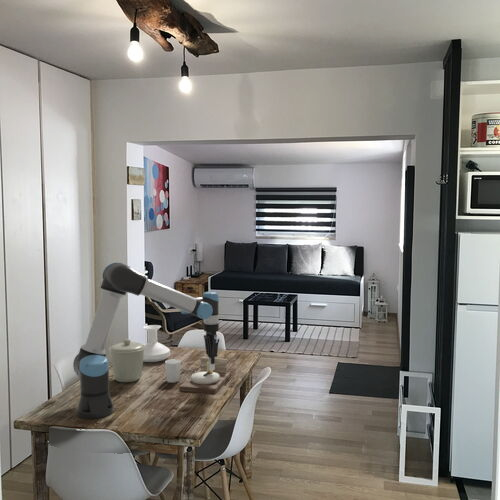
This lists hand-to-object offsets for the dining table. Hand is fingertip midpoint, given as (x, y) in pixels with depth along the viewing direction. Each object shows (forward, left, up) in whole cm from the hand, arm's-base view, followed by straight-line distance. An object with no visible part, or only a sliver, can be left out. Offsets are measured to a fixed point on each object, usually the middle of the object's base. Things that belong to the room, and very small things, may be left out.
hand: (211, 369), depth 262 cm
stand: (-3, +1, -7) cm, 7 cm away
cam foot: (-4, -1, -4) cm, 6 cm away
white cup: (-15, +13, -7) cm, 21 cm away
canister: (-34, +27, -7) cm, 44 cm away
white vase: (-10, +55, -7) cm, 57 cm away
